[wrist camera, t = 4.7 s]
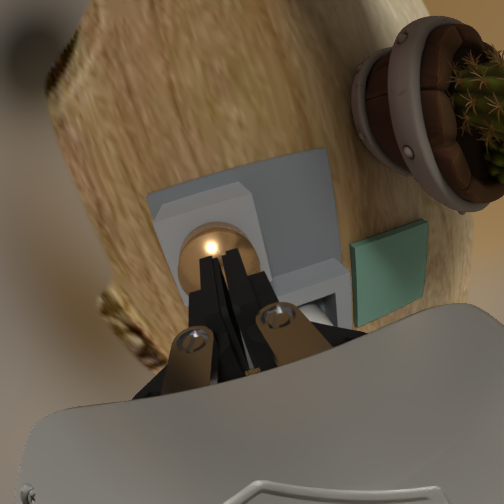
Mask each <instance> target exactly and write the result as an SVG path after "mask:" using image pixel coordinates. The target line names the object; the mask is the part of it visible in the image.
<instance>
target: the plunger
mask: <svg viewBox="0 0 504 504" xmlns="http://www.w3.org/2000/svg"><path fill="white" fill-rule="evenodd" d="M234 248H238V250H239V253H240V256H241V259H242V261H243V264H244V267H245V270H246V273H247V275H248V276H249V275H252V274H255V273H259V272H260V260H259V257H258V255H257V253H256V251H255V249H254V247H253V245H252V244H251V242H250V240H249V238H248V237H247V235H246V234H245V233H244V232H243V231H242V230H241V229H240V228H238V227H236V226H235V225H232V224H230V223H226V222H217V221H216V222H209V223H205V224H202V225H200V226H198V227H196V228H195V229H193V230H192V231H191V232H190V233H189V234H188V235H187V236H186V238H185V239H184V241H183V243H182V245H181V248H180V253H179V262H178V279H179V282H180V285H181V287H182V289H183V290H184V292H185V293H186V294H187V295H188V296H189V293H190V292H194V291H197V290H201V287H200V267H199V259H201V258H204V257H207V256H211V255H212V257H213V258H216V257H218V260H219V263H220V266H221V269H222V272H223V275H224V278H225V281H226V284H227V280H226V276H225V271H224V266H223V262H222V257H221V256H223V255H226V252H225V251H228V250H231V249H234ZM227 287H228V285H227Z"/></svg>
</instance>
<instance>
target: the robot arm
mask: <svg viewBox="0 0 504 504" xmlns="http://www.w3.org/2000/svg"><path fill="white" fill-rule="evenodd" d="M225 252H226V255H223V256H221V257H222V262H223V266H224V271H225V276H226V280H227V284H226V281H225V278H224V275H223V272H222V269H221V266H220V263H219V260H218V257H216V258H213V257H212V255H211V256H207V257H204V258H201V259H199V267H200V287H201V290H197V291H194V292H190V293H189V328H187V329H185V330H183V331H182V332H180V333H179V334H178V335H177V336H176V337H175V338H174V340H173V343H172V346H171V350H170V354H169V359H168V363H167V365H166V366H165V367H164V368H163V369H162V370H161V371H160V372H159V373H158V374H157V375H156V376H155V377H154V378H153V379H152V380H151V381H150V382H149V383H148V384H147V385H146V386H145V387H144V388H143V389H142V390H140V392H138V393H137V394H136V395H135V397H134V398H133V399H132V400H128V401H120V402H111V403H103V404H95V405H87V406H78V407H73V408H68V409H64V410H61V411H57V412H54V413H52V414H50V415H48V416H46V417H44V418H42V419H41V420H39V421H38V422H37V423H36V424H35V425H34V426H33V428H32V430H31V431H30V434H29V436H28V439H27V441H26V444H25V448H24V451H23V455H22V459H21V463H20V468H19V473H18V478H17V484H16V493H15V502H14V504H504V325H503V324H502V323H500V322H499V321H498V320H497V319H495V318H494V317H493V316H491V315H490V314H489V313H487V312H485V311H484V310H482V309H480V308H478V307H476V306H474V305H471V304H467V303H452V304H446V305H439V306H436V307H432V308H428V309H425V310H422V311H419V312H417V313H414V314H411V315H409V316H407V317H405V318H402V319H400V320H398V321H396V322H393V323H391V324H389V325H386V326H384V327H381V328H379V329H377V330H375V331H372V332H370V333H364V332H361V331H356V330H351V329H345V328H340V327H335V326H331V325H326V324H321V323H316V322H312V321H309V319H308V318H307V317H306V316H305V315H304V314H303V313H302V312H301V310H300V309H299V308H298V307H297V306H295V305H294V304H291V303H289V302H279V300H278V298H277V296H276V294H275V292H274V290H273V288H272V286H271V284H270V282H269V280H268V277H267V275H266V273H265V271H262V272H259V273H255V274H252V275H249V276H248V275H247V273H246V270H245V267H244V264H243V261H242V259H241V256H240V253H239V250H238V248H234V249H231V250H228V251H225ZM227 285H228V287H227ZM240 331H241V332H240ZM241 334H242V336H241ZM242 337H243V339H244V342H245V345H246V348H247V351H248V353H249V356H250V359H251V361H252V364H253V367H254V369H255V368H259V369H260V371H261V372H258V373H255V374H251V375H248V376H246V374H245V371H248V370H250V368H249V364H248V360H247V356H246V352H245V348H244V344H243V340H242Z"/></svg>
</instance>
